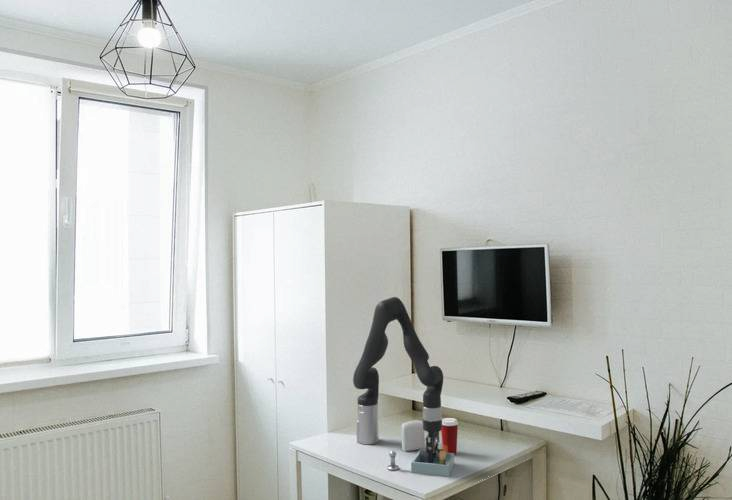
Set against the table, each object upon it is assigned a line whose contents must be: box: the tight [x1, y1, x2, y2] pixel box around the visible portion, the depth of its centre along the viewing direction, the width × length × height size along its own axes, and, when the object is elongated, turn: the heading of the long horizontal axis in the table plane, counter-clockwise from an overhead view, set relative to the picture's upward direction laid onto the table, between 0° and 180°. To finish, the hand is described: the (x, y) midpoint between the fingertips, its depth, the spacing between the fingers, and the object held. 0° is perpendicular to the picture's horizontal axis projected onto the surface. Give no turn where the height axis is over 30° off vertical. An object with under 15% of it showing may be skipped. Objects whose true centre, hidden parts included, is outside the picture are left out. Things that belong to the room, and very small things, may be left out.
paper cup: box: [440, 417, 459, 456], centre depth 245 cm, size 8×8×14 cm
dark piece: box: [418, 447, 446, 465], centre depth 228 cm, size 4×10×6 cm, turn 72°
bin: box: [410, 451, 455, 477], centre depth 228 cm, size 14×14×4 cm
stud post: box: [386, 450, 399, 472], centre depth 228 cm, size 4×4×7 cm
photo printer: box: [400, 419, 426, 452], centre depth 251 cm, size 10×4×12 cm, turn 107°
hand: (433, 458), depth 228 cm, fingers open, 8 cm apart
